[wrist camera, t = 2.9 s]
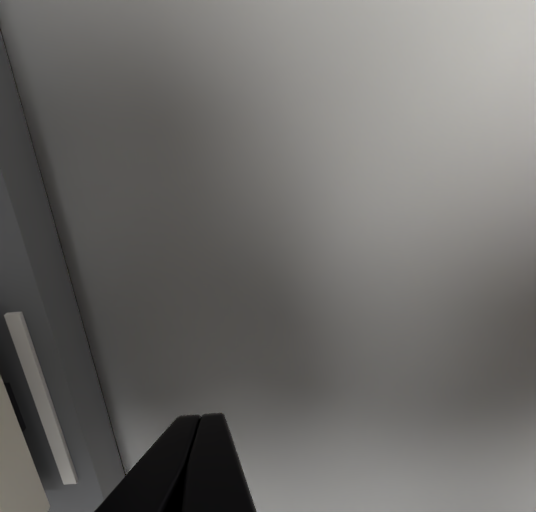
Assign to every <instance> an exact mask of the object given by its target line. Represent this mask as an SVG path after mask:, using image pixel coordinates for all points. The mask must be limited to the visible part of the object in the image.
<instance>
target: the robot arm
mask: <svg viewBox="0 0 536 512" xmlns="http://www.w3.org/2000/svg"><path fill="white" fill-rule="evenodd" d="M94 512H256V509H255V506H254V503H253V500H252V497H251V494H250V491H249V488H248V485H247V482H246V479H245V476H244V472H243V469H242V466H241V463H240V460H239V457H238V454H237V451H236V448H235V445H234V442H233V439H232V436H231V433H230V430H229V427H228V424H227V421H226V418H225V415H224V414H223V413H211V414H204V415H202V417H201V416H200V415H183V416H179V417H178V418H176V419H175V421H174V422H173V423H172V424H171V425H170V426H169V427H168V428H167V430H166V431H165V432H164V433H163V434H162V435H161V436H160V437H159V439H158V440H157V441H156V442H155V443H154V444H153V445H152V447H151V448H150V449H149V450H148V451H147V452H146V453H145V454H144V456H143V457H142V458H141V459H140V460H139V461H138V462H137V463H136V465H135V466H134V467H133V468H132V469H131V470H130V471H129V473H128V474H127V475H126V476H125V477H124V478H123V479H122V480H121V482H120V483H119V484H118V485H117V486H116V487H115V488H114V490H113V491H112V492H111V493H110V494H109V495H108V496H107V497H106V499H105V500H104V501H103V502H102V503H101V504H100V505H99V506H98V508H97V509H96V510H95V511H94Z"/></svg>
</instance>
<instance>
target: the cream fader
mask: <svg viewBox="0 0 536 512" xmlns="http://www.w3.org/2000/svg"><path fill="white" fill-rule="evenodd" d="M49 508H50V505H49V502H48V499H47V497H46V494H45V491H44V489H43V486H42V483H41V481H40V478H39V475H38V473H37V470H36V468H35V465H34V462H33V460H32V457H31V454H30V452H29V449H28V446H27V444H26V441H25V438H24V436H23V433H22V430H21V428H20V425H19V423H18V420H17V417H16V415H15V412H14V409H13V407H12V404H11V401H10V399H9V396H8V393H7V391H6V388H5V385H4V383H3V380H2V378H1V375H0V512H48V510H49Z"/></svg>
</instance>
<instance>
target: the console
mask: <svg viewBox="0 0 536 512" xmlns="http://www.w3.org/2000/svg"><path fill="white" fill-rule="evenodd" d="M0 375H1V378H2V380H3V383H4V385H5V388H6V391H7V393H8V396H9V399H10V401H11V404H12V407H13V409H14V412H15V415H16V417H17V420H18V423H19V425H20V428H21V430H22V433H23V436H24V438H25V441H26V444H27V446H28V449H29V452H30V454H31V457H32V460H33V462H34V465H35V468H36V470H37V473H38V475H39V478H40V481H41V483H42V486H43V489H44V491H45V494H46V497H47V499H48V502H49V505H50V508H49V510H48V512H94V511H95V510H96V509H97V508H98V506H99V505H100V504H101V503H102V502H103V501H104V500H105V499H106V497H107V496H108V495H109V494H110V493H111V492H112V491H113V490H114V488H115V487H116V486H117V485H118V484H119V483H120V482H121V480H122V479H123V478H124V477H125V474H124V470H123V466H122V463H121V459H120V456H119V452H118V449H117V445H116V441H115V438H114V434H113V431H112V427H111V424H110V420H109V416H108V413H107V409H106V406H105V402H104V399H103V395H102V391H101V388H100V384H99V381H98V377H97V374H96V370H95V366H94V363H93V359H92V356H91V352H90V349H89V345H88V341H87V338H86V334H85V331H84V327H83V324H82V320H81V316H80V313H79V309H78V306H77V302H76V299H75V295H74V291H73V288H72V284H71V281H70V277H69V274H68V270H67V266H66V263H65V259H64V256H63V252H62V249H61V245H60V241H59V238H58V234H57V231H56V227H55V224H54V220H53V216H52V213H51V209H50V206H49V202H48V199H47V195H46V191H45V188H44V184H43V181H42V177H41V173H40V170H39V166H38V163H37V159H36V156H35V152H34V148H33V145H32V141H31V138H30V134H29V131H28V127H27V123H26V120H25V116H24V113H23V109H22V106H21V102H20V98H19V95H18V91H17V88H16V84H15V81H14V77H13V73H12V70H11V66H10V63H9V59H8V56H7V52H6V48H5V45H4V41H3V38H2V34H1V31H0Z"/></svg>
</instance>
